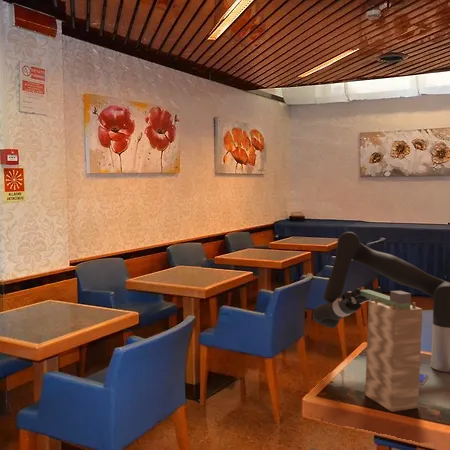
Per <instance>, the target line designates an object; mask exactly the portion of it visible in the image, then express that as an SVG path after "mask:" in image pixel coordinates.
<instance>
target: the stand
mask: <svg viewBox="0 0 450 450" xmlns="http://www.w3.org/2000/svg"><path fill="white" fill-rule="evenodd" d="M411 303H412V304H411V305H410V308H405V309H399V308H396V304H393V306H390V305H387V304H384V303H382V302H379V301H378V298H375V300H374V301H368V310H367V311H368V313H367V337H366V338H367V339H366V360H365V361H366V363H365V364H366V366H365V368H366V369H365V385H364V386H365V387H364V388H365V390H364V394H365V396H366V397H368V398H369V399H371V400H372V401H374V402H376V403H377V404H378V405H380V406H382V407H384V408H385V409H387V410H388V411H389V412H392V413H394V412H400V411H406V410H412V409H418V408H419V396H420V395H419V390H420V384H419V374H421V373H420V372H421V371H420V367H421V351H422V350H421V348H422V331H423V330H422V327H423V308H421V307H418V306H416V305H417V304H416V303H417V302H416V301H415V302H414V301H413V302H412V301H411Z"/></svg>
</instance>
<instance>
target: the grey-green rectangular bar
mask: <svg viewBox="0 0 450 450" xmlns="http://www.w3.org/2000/svg"><path fill="white" fill-rule="evenodd" d="M372 290H373V289H372ZM372 290H371V289H360V291H361V294H360V295H361V296H364V297H367V298H370V299H373V300H374V301H375V298H378V301H379V302H382V303H384V304H387V305H390V306H393V304H396V308H399V309H405V308H410V305H412V304H411V303H412V293H410V292H406V291H403V290H391V291H389V292H390V295H387V294H383V293H378V292H375V291H372Z"/></svg>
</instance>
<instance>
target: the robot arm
mask: <svg viewBox="0 0 450 450" xmlns="http://www.w3.org/2000/svg"><path fill="white" fill-rule="evenodd" d="M336 243H337V244H336V245H337V246H336V255H335V258H334V263H333V267H332V270H331V272H330V275H329V278H328V281H327V284H326V287H325V288H324V289H325V291H324V293H323V298H322V299H323V300H324V302H326V303H322V304H320V305H318V306H316V308H315V309H314V310H313V311H312V319H313V321H314V322H315V323H317V324H319V325H322V326H325V327H326V328H327V327H328V328H330V329H334V328H336V327H337V326H338V325H339V323H340V320H342V319H343V318H345V317H348V316H350V315H351V314H353V313H356V312H357V311H359V310H360V309H361V308H362V304H365V303H366V302H369V301H375V300H373V299H370V298H367V297H364V296H361V295H360V294H361V291H360V290H361V288H356V289H354V290H353V291H352V290H351V291H350V290H349V291H346V292H344V290H345V287H346V283H347V278H348V274H349V270H350V266H351V263H352V261H355V262H357V263H359V264H362V265H364V266H366V267H368V268H370V269H371V270H373V271H374V272H376V273H378V274H380V275H381V276H384V277H385V278H387V279H390V280H391V281H393V282H395V283H397V284H399V285H402V286H406V287H409V288H413V289H416V290H419V291H421V292H422V293H425V294H427V295H429V296H430V297H432V298H433V307H432V308H433V309H432V333H431V334H432V335H431V336H432V338H431V356H430V358H431V359H430V367H431V368H432V369H434V370H437V371H440V372H444V373H445V372H446V373H450V282H449V281H447V280H444V279H441V278H438V277H436V276H434V275H431V274H429V273H427V272H425V271H424V270H422V269H420V268H418V267H417V266H415V265H414V264H412V263H410V262H408V261H406V260H404V259H402V258H400V257H398V256H395V255H393V254H391V253H387V252H382V251H379V250H378V251H377V250H374V249H372V248H370V247H368V246H367V245H365V244H364V243H362V242H361V241H360V238H359V236H358V234H356V233H355V232H353V231H345V232H343V233H341V234H340V235H339V237H338V239H337V242H336ZM372 291H375V292H378V293H381V294H383V293H382V292H383V291H382V288H381V286H377V287H376V288H374V289H372Z"/></svg>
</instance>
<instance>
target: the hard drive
mask: <svg viewBox="0 0 450 450" xmlns="http://www.w3.org/2000/svg"><path fill="white" fill-rule="evenodd" d="M428 378H429V375H427V374H423V373H419V385H424V384H425V382H426V381H427V380H428Z"/></svg>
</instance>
